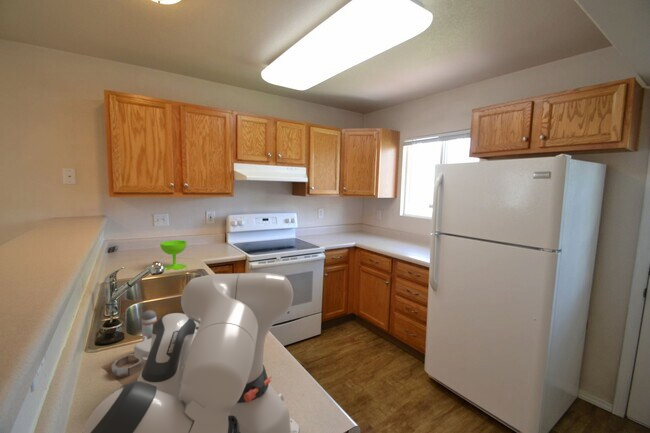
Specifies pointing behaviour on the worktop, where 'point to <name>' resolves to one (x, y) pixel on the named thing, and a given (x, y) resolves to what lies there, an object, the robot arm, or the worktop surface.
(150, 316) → the cylinder
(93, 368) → the worktop surface
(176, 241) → the wineglass
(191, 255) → the worktop surface
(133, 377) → the jig board
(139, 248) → the worktop surface
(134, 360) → the cradle
